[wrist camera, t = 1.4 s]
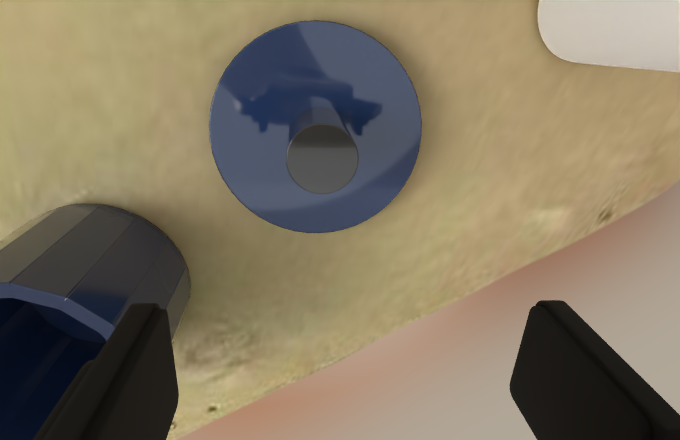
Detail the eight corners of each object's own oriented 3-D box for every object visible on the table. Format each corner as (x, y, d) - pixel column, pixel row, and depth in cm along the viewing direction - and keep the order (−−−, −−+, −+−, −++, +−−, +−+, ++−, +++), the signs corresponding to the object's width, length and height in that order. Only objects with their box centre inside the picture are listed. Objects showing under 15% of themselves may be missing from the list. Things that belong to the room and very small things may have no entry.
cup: (2, 323, 29) (-120, 443, 21) (23, 177, 25) (-118, 250, 17) (168, 362, 32) (121, 482, 23) (210, 236, 28) (172, 324, 20)
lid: (188, 189, 27) (159, 229, 21) (250, -20, 22) (234, -39, 17) (367, 249, 30) (383, 298, 24) (452, 75, 25) (496, 86, 20)
